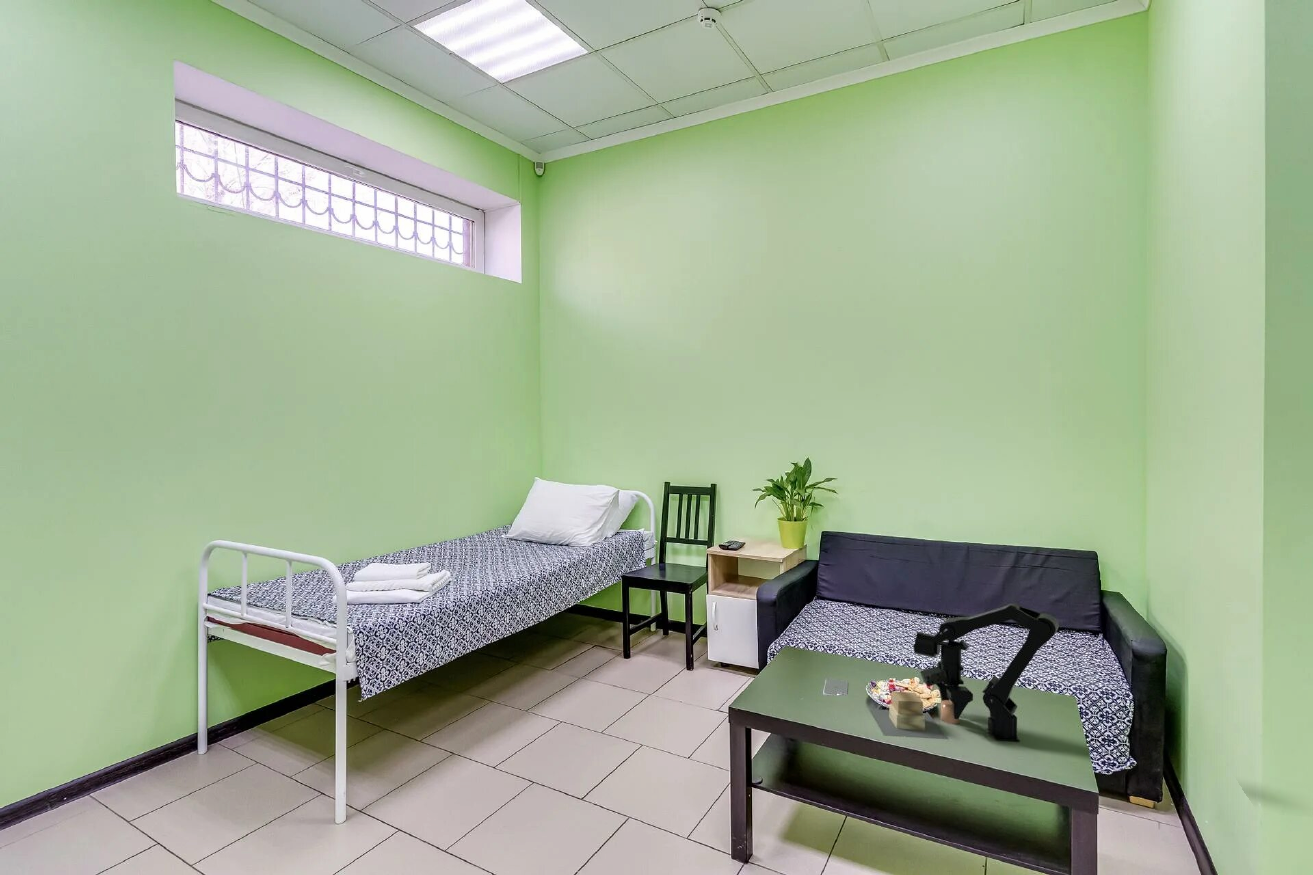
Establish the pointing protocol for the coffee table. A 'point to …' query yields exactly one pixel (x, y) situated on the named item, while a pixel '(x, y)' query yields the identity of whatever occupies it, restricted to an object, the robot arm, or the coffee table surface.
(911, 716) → the base block
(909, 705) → the top block
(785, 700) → the coffee table surface
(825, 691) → the mobile phone
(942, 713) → the terracotta cylinder
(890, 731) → the rubber mat
